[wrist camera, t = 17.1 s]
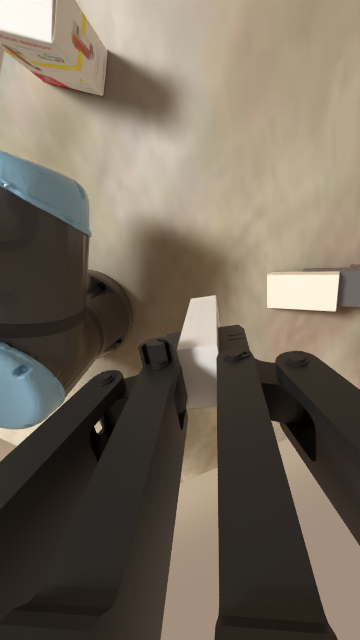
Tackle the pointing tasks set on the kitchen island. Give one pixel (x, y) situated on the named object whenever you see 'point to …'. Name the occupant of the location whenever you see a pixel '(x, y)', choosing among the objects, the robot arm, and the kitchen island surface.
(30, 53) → the ink box
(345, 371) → the kitchen island surface
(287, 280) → the domino ivory
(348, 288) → the domino
